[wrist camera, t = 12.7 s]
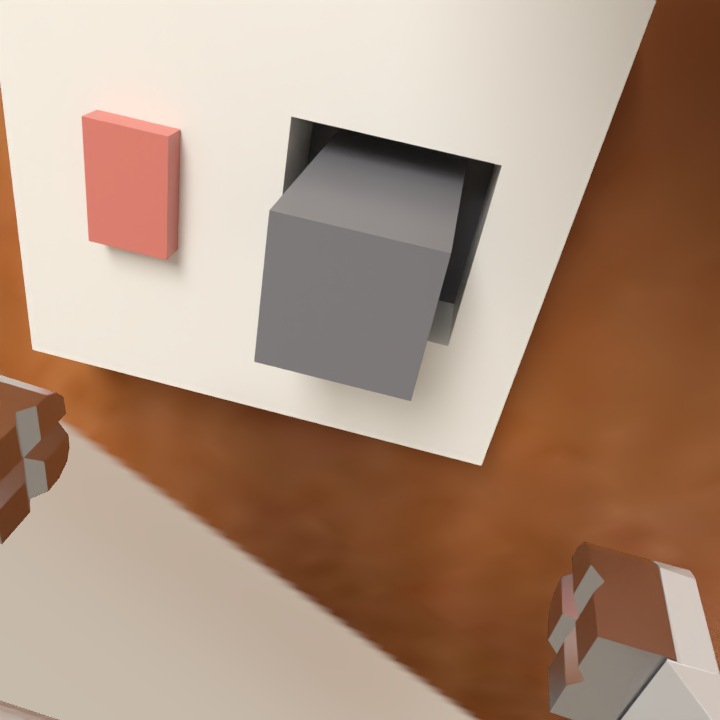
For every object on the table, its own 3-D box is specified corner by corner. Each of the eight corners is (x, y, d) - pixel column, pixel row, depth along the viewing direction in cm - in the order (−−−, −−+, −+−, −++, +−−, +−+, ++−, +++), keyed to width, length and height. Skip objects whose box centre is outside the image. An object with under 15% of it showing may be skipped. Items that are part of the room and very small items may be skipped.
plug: (467, 161, 20) (450, 253, 14) (435, 279, 22) (411, 401, 16) (337, 131, 20) (269, 210, 14) (319, 251, 22) (253, 362, 17)
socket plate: (634, -9, 17) (663, 3, 14) (483, 412, 25) (480, 482, 22) (46, -135, 18) (-51, -150, 15) (78, 309, 26) (18, 361, 23)
